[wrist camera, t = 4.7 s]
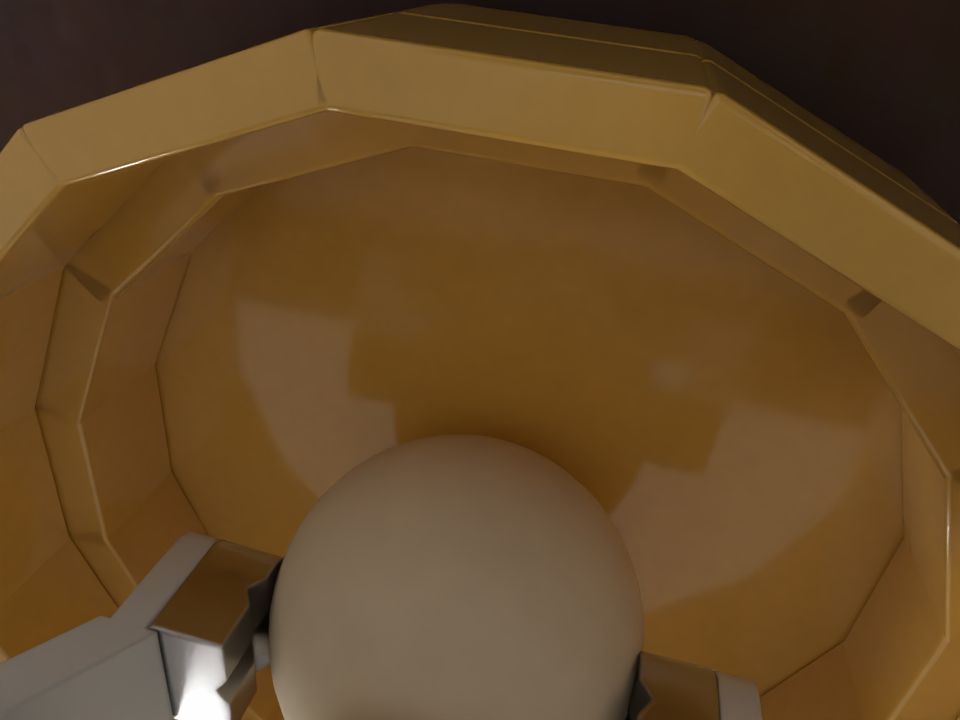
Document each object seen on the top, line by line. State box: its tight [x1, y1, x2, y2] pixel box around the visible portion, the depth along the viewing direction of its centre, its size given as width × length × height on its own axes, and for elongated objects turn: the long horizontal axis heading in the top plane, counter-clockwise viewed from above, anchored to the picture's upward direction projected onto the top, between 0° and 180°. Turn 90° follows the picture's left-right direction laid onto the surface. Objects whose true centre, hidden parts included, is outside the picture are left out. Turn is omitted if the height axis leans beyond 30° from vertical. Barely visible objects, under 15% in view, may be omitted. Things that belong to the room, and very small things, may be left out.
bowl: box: [0, 3, 960, 720], centre depth 11 cm, size 15×15×4 cm
